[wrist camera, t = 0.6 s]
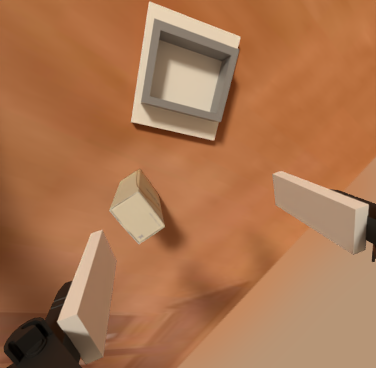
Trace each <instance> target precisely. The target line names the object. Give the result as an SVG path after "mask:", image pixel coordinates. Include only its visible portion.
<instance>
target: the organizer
mask: <svg viewBox="0 0 376 368" xmlns="http://www.w3.org/2000/svg"><path fill="white" fill-rule="evenodd" d="M239 41H240V36H237V35H235V34H232V33H229V32H227V31H224V30H222V29H219V28H216V27H214V26H211V25H209V24H206V23H204V22H201V21H198V20H196V19H193V18H191V17H188V16H185V15H183V14H180V13H178V12H175V11H173V10H170V9H167V8H165V7H162V6H160V5H157V4H154V3H152V2H149V6H148V13H147V19H146V26H145V33H144V39H143V46H142V52H141V59H140V66H139V72H138V79H137V86H136V92H135V99H134V105H133V112H132V119H131V122H134V123H138V124H143V125H147V126H152V127H156V128H160V129H165V130H169V131H174V132H178V133H183V134H187V135H191V136H196V137H200V138H205V139H209V140H214V139H215V136H216V132H217V128H218V124H219V122H221V120H222V116H223V112H224V108H225V104H226V100H227V96H228V92H229V88H230V85H231V81H232V77H233V73H234V69H235V65H236V61H237V57H238V53H239V49H238V45H239Z"/></svg>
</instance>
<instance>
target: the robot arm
mask: <svg viewBox="0 0 376 368" xmlns="http://www.w3.org/2000/svg"><path fill="white" fill-rule="evenodd" d="M273 184H274V193H275V203H276V206H278V207H280V208H281V209H283V210H284V211H286V212H287V213H289V214H290V215H292V216H294V217H295V218H297V219H298V220H300V221H301V222H303V223H304V224H306V225H308V226H309V227H311V228H312V229H314V230H315V231H317V232H318V233H320V234H322V235H323V236H325V237H326V238H328V239H330V240H331V241H333V242H334V243H336V244H337V245H339V246H340V247H342V248H343V249H345V250H347V251H348V252H350V253H351V254H353V255H354V254H357V253H359V252H361V251H364V250H365V248H366V240H367V241H369V242H371V243H373V252H372V262H375V259H376V204H374V203H372V202H369V201H366V200H364V199H361V198H358V197H354V196H353V195H350V194H349V195H348V194H347V193H345V192H342V191H339V190H333V189H327V188H324V187H322V186H319V185H317V184H314V183H311V182H309V181H306V180H304V179H301V178H298V177H296V176H293V175H290V174H288V173H285V172H283V171H280V172H277V173H274V174H273ZM116 262H117V261H116V258H115V256H114V254H113V252H112V250H111V247H110V245H109V243H108V241H107V239H106V237H105V234H104V232H103V230H100V231H97V232H94V233H91V235H90V238H89V240H88V243H87V245H86V248H85V251H84V253H83V256H82V258H81V261H80V264H79V266H78V269H77V271H76V274H75V276H74V279H73V281H70V282H67V283H65V284H64V285H63V286H62V288H61V289H60V290H59V291H58V293H57V295H56V297H55V299H54V302H53V304H52V306H51V310H50V311H49V313H48V315H47V317H46V320H44V319H43V318H41V317H39V318H34V319H31V320H29V321H27V322H26V323H24V324H23V325H21V326H20V327H19V328H18V329H16V330H15V331H14V332H13V333H12V334H11V336H10V337H9V338H8V340H7V341H6V343H5V346H4V352H5V354H6V355H7V356H8V357H9V358H10V359H11V360H12V362H13V364H12V365H10V366H8V367H7V368H82V367H81V366H80V365H79V360H80V357H81V358H82V359H83V361H84V362H85V364H88V363H90V362H93V361H95V360H98V359H100V358H103V356H104V349H105V341H106V334H107V327H108V320H109V313H110V305H111V298H112V291H113V284H114V276H115V269H116Z"/></svg>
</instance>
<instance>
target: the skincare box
mask: <svg viewBox="0 0 376 368" xmlns="http://www.w3.org/2000/svg"><path fill="white" fill-rule="evenodd" d="M110 212H111V213H112V215H113V216H114V217H115V218H116V219H117V221H118V222H119V223H120V224H121V225H122V227H123V228H124V229H125V230H126V231H127V232H128V233H129V234H130V235H131V236H132V238H133V239H134V240H135V241H136V242H137V243H138V244H140V243H141V242H143V241H145V240H146V239H148V238H149V237H151V236H152V235H154V234H155V233H157V232H158V231H160V230H161V229H163V228H164V227H165V224H164V220H163V215H162V209H161V204H160V199H159V195H158V193H157V192H156V190H155V189H154V187H153V186H152V185H151V183H150V182H149V180H148V179H147V178H146V176H145V175H144V174H143V172H142V171H141V170H140V169H139V170H137V171H136V172H134V173H132V174H131V175H129V176H128V177H126V178H125V179H123V180H122V181H120V184H119V186H118V189H117V192H116V194H115V197H114V200H113V202H112V205H111V207H110Z"/></svg>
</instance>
